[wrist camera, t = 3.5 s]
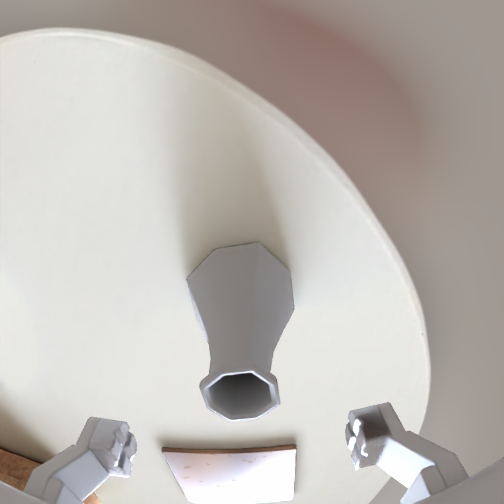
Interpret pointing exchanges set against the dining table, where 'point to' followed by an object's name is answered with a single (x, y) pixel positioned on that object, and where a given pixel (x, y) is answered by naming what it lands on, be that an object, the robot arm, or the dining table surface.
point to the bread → (24, 473)
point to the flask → (241, 327)
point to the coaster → (234, 474)
